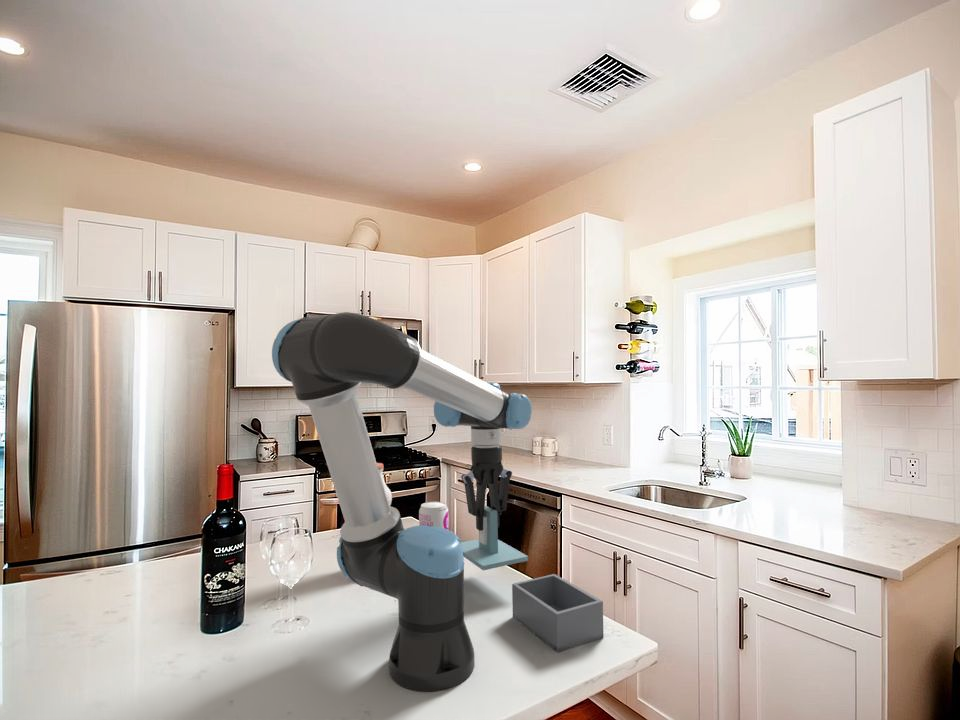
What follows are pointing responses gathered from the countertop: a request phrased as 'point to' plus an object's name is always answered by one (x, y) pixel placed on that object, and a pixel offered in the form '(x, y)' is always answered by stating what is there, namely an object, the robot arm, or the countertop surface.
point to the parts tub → (557, 611)
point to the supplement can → (434, 515)
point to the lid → (491, 547)
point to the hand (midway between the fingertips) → (488, 541)
